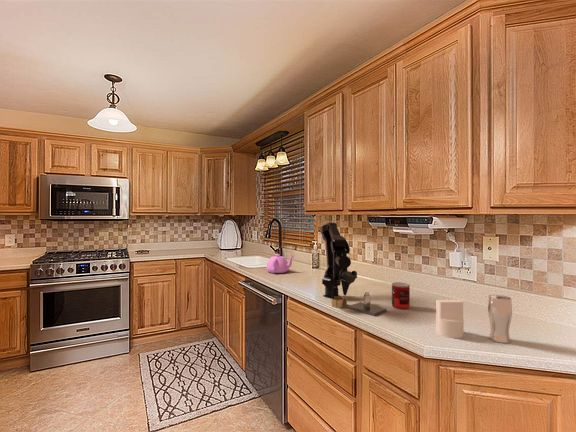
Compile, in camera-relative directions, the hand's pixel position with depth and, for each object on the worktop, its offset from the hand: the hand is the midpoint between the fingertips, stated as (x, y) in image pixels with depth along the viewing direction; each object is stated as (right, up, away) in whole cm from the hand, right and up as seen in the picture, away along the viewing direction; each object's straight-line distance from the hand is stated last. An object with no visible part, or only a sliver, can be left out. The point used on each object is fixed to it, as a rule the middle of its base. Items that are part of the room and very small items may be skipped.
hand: (339, 297), depth 147 cm
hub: (0, -4, 0) cm, 4 cm away
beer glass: (+50, -5, -40) cm, 64 cm away
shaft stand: (+12, -4, -7) cm, 14 cm away
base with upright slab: (+35, -5, -34) cm, 49 cm away
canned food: (+29, -4, -2) cm, 29 cm away
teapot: (-30, -4, +86) cm, 91 cm away
